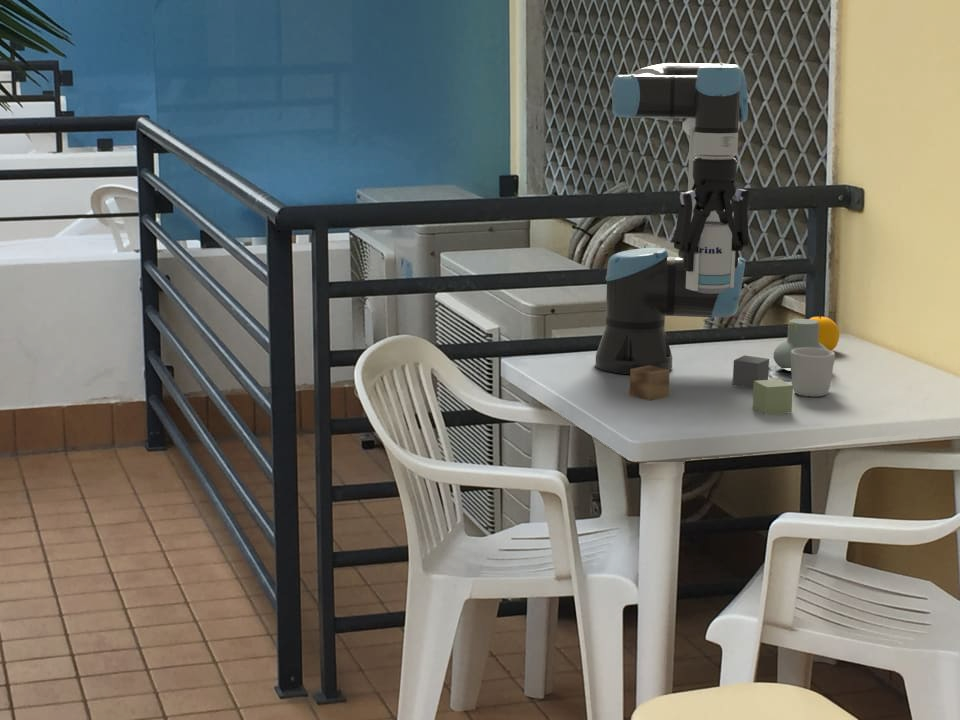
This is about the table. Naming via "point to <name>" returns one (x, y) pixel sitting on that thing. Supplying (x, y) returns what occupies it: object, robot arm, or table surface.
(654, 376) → the walnut block
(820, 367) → the cup
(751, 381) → the charcoal block
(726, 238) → the beverage can
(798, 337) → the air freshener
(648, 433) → the table surface
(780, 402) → the olive block
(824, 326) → the orange
